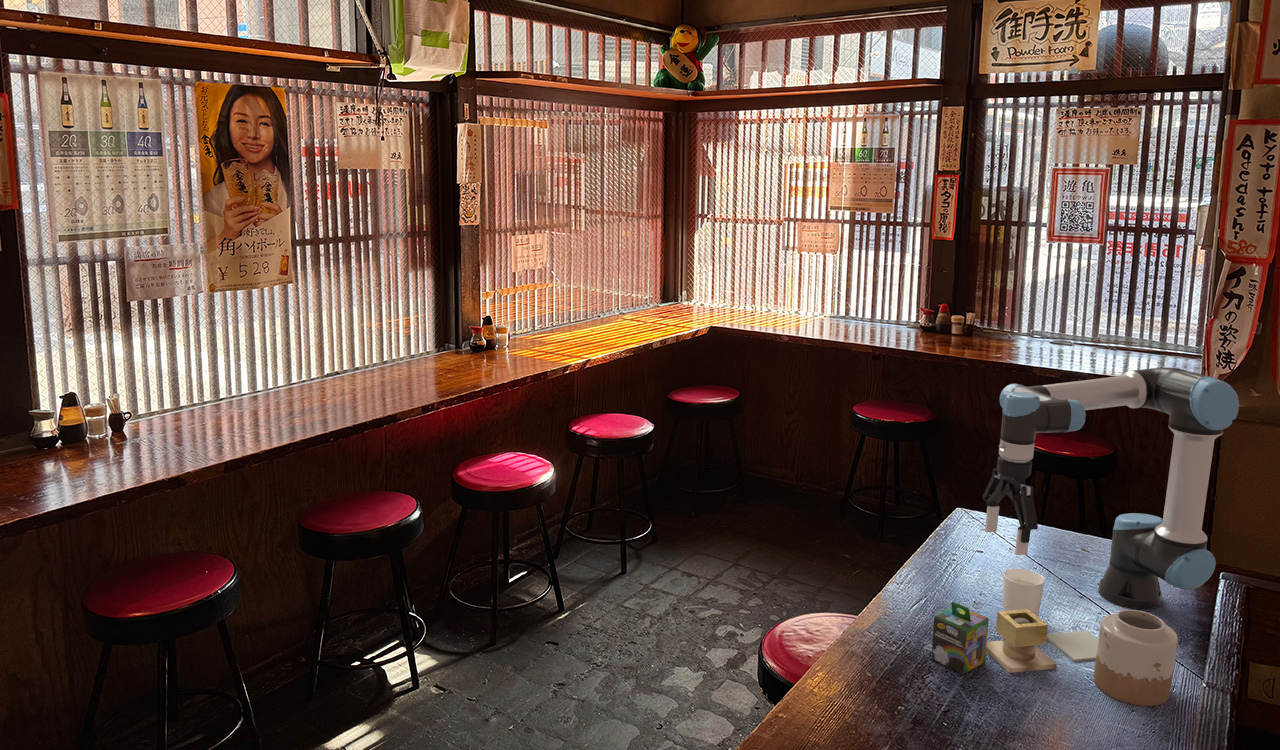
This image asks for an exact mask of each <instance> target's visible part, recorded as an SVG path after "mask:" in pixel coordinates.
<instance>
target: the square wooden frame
mask: <svg viewBox="0 0 1280 750" xmlns="http://www.w3.org/2000/svg"><path fill="white" fill-rule="evenodd" d="M1016 618H1025V619H1027V620H1028V621H1029V623H1026V624H1018V623H1017V622H1016V621H1015V619H1016ZM1048 626H1049V625H1048V623H1046V622H1045V621H1044V620H1042V618H1040V617H1039V616H1038V617H1037V616H1036V615H1035V614H1034V613H1032V612H1031V611H1030V610H1029V609H1022V610H1010V611H1003V610H1002V611H1001V610H1000V611H997V613H996V623H995V631H996V632H997V633H998V634H999V636H1001V637H1002V638H1003V640H1004V639H1005V640H1007V641H1008V642H1009V643H1010V644H1011V645H1012V646H1013V647H1025V646H1045V645H1047V639H1046V638H1047V634H1048Z"/></svg>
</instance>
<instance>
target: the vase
mask: <svg viewBox="0 0 1280 750" xmlns="http://www.w3.org/2000/svg"><path fill="white" fill-rule="evenodd" d="M1178 645H1179V637H1178V635H1177V633H1176V632H1175V630H1173V628H1171V627H1170V626H1169V625H1167V624H1166V623H1165V621H1164V620H1163V619H1161V618H1160V617H1158V616H1157V615H1154V614H1152V613H1150V612H1146V611H1144V610H1140V609H1122V610H1119V611H1117V612H1116V613H1111V614H1108V615H1106V616H1104V617H1103V618H1102V619H1101V621H1100V625H1099V632H1098V646H1097V654H1096V660H1094V661H1095V664H1094V671H1093V681H1094V683H1095V686H1096V687H1097V688H1098V689H1099V690H1100V691H1101V692H1103V693H1104V694H1105V695H1107V696H1109V697H1111V698H1113V699H1115V700H1117V701H1120V702H1122V703H1126V704H1130V705H1134V706H1140V707H1154V706H1155V707H1156V706H1159V705H1164V704H1165V703H1166V702H1168V701H1169V698H1170V697H1171V696H1170V695H1171V690H1172V683H1173V677H1174V670H1175V663H1176V657H1177V651H1178Z"/></svg>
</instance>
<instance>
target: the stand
mask: <svg viewBox="0 0 1280 750" xmlns="http://www.w3.org/2000/svg"><path fill="white" fill-rule="evenodd" d="M1015 621H1016V622H1017V623H1018V624H1026V623H1029V621H1028V620H1027V619H1025V618H1016V619H1015ZM986 653H987V654H989V655H990V657H992V659H994V661H996V662H997V663H998V664H999V665H1000V666H1001V667H1003V669H1004V670H1005V671H1006V672H1008V674H1012V673H1022V672H1034V671H1035V672H1036V671H1042V670H1043V671H1044V670H1045V671H1046V670H1050V669H1051V670H1053V669H1055V670H1056V669H1057V664H1058V663H1056V661H1054V660H1053V659H1052V658H1051V657H1049V656H1048V655H1047V654H1046V653H1045V652H1044V651H1043V650H1041V649H1040V648H1039V647H1038V645H1036V646H1025V647H1013V646H1012V645H1011V644H1010V643H1009V642H1008V641H1007V640H1005V639H1004V638H1003V639H1002V640H994V641H987V648H986Z"/></svg>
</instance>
